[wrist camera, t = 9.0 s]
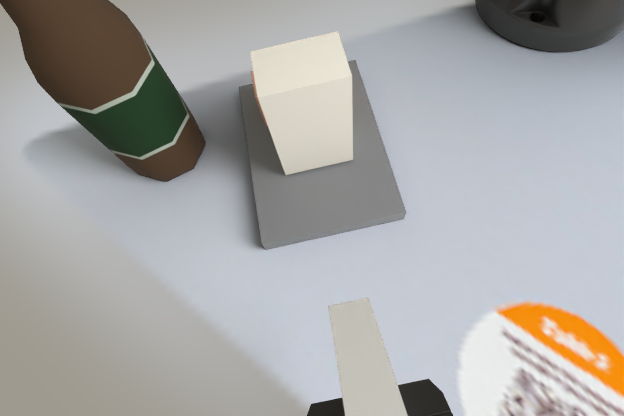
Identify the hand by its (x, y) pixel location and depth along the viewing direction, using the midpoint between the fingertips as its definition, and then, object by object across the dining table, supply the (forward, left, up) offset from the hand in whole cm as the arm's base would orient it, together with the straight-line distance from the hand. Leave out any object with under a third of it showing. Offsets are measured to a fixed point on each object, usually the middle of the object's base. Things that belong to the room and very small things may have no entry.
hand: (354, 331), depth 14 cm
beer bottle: (+13, -22, -15) cm, 30 cm away
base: (0, -18, -15) cm, 23 cm away
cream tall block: (0, -17, -13) cm, 21 cm away
